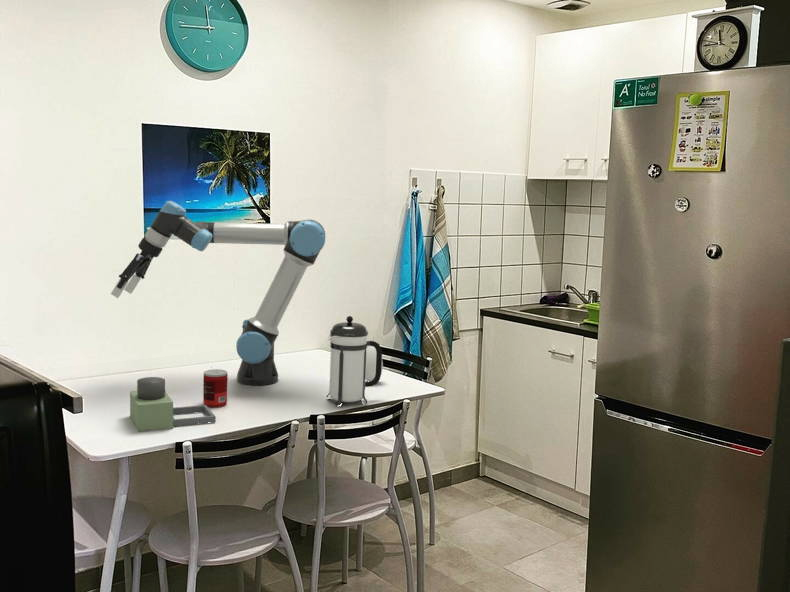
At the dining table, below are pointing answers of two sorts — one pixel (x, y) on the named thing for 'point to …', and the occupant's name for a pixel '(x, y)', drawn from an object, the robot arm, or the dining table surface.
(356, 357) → the coffee press
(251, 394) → the dining table surface
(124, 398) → the dining table surface
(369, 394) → the dining table surface
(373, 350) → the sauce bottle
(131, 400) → the capped block with tray
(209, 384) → the canned food
